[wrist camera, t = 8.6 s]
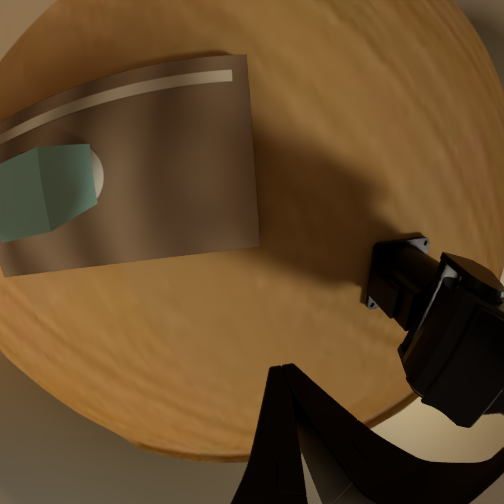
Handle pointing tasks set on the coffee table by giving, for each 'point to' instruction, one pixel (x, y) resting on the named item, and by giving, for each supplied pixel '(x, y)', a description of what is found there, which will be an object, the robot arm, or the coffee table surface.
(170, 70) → the board
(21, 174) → the sage green box
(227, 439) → the coffee table surface
